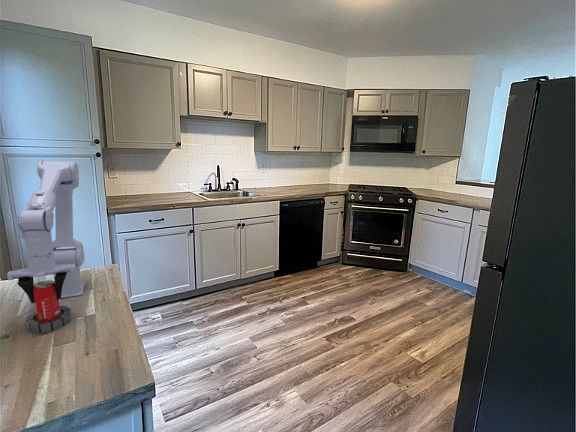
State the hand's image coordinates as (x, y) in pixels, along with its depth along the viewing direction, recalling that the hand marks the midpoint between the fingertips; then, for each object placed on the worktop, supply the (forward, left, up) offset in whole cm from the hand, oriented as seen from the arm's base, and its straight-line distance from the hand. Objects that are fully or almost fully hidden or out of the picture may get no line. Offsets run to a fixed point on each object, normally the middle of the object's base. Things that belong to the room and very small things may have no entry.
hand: (46, 299), depth 88 cm
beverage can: (0, 0, -7) cm, 7 cm away
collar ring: (0, 0, -7) cm, 7 cm away
